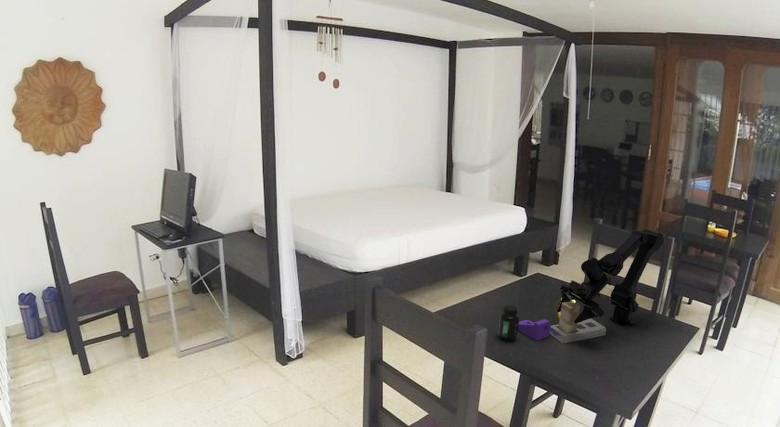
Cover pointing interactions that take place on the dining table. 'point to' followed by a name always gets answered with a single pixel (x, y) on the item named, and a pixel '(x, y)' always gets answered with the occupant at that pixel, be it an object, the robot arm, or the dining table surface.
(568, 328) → the peg
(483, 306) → the dining table surface
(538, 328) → the bracket
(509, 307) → the supplement bottle
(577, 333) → the grey flat block
